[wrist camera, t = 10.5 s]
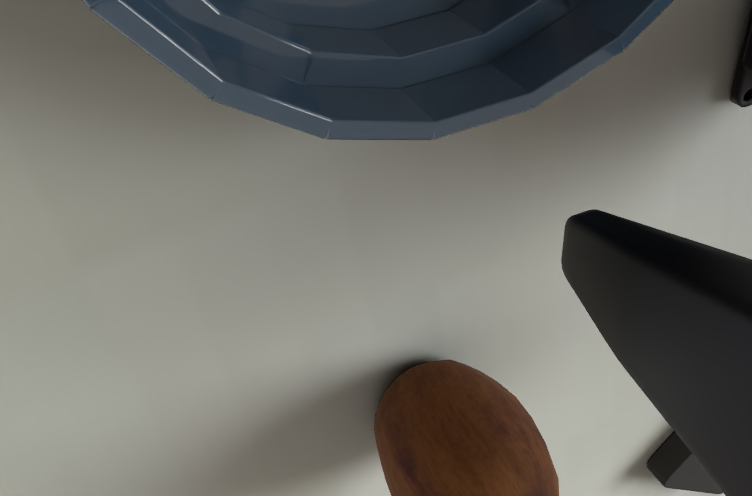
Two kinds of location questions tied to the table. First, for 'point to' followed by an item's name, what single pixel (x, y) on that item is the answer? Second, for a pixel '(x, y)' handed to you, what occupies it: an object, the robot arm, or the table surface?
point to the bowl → (380, 56)
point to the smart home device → (680, 468)
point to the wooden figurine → (459, 436)
